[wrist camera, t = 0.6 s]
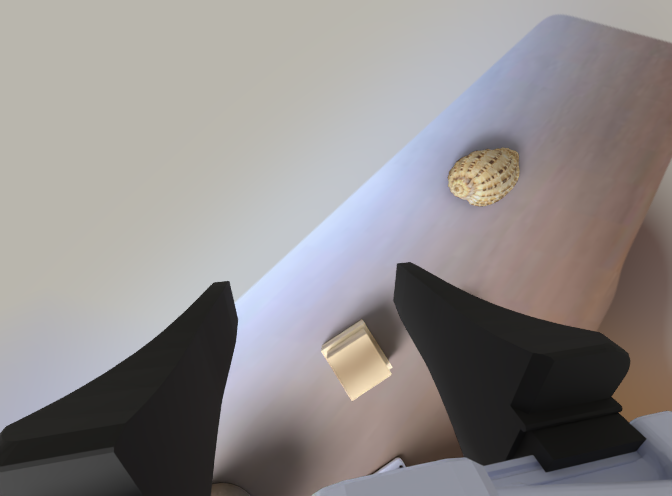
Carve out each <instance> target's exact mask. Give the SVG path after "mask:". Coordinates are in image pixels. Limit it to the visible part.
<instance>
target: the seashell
mask: <svg viewBox="0 0 672 496" xmlns="http://www.w3.org/2000/svg"><path fill="white" fill-rule="evenodd" d="M518 162H519V154H518V153H517V152H516V151H513V150H510V149H509V148H501V149H498V148H497V149H495V150H490V149H486V150H483V151H474V152H472V153H470V154H469V155H467V156H464V157H463V158H461V159H460V160H458V161H457V162H456V163H455V165H454V167H453V168H452V169H451V170H450V171H449V175H448V180H449V184H448V187H449V188H450V190H451V192H452V193H453V194H454V196H456V197H459V198H461V199H464V200H468V201H469V203H470V204H471V205H475V206H487V205H490V204H493V203H495V202H497V201H499V200H500V199H502V198H503V197H504V196H505V195H506V194H508V193H509V192H510V191H511V190H512V189H513V187H514V186H515V184H516V182H517V180H518V178H519V165H518Z"/></svg>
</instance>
